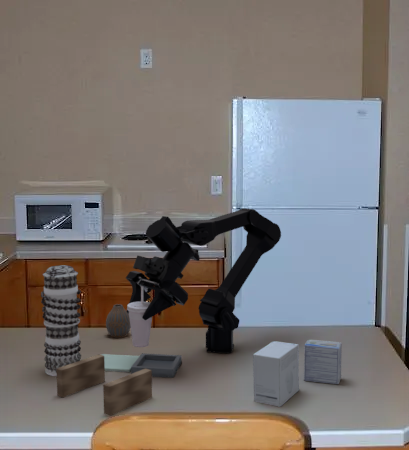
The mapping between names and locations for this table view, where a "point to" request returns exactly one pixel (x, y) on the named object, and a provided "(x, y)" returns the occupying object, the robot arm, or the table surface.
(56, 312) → the decorative candle
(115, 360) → the mat
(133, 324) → the smoothie
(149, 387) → the lane
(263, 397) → the skincare box
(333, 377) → the medicine box
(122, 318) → the vase
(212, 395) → the table surface
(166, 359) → the tray
